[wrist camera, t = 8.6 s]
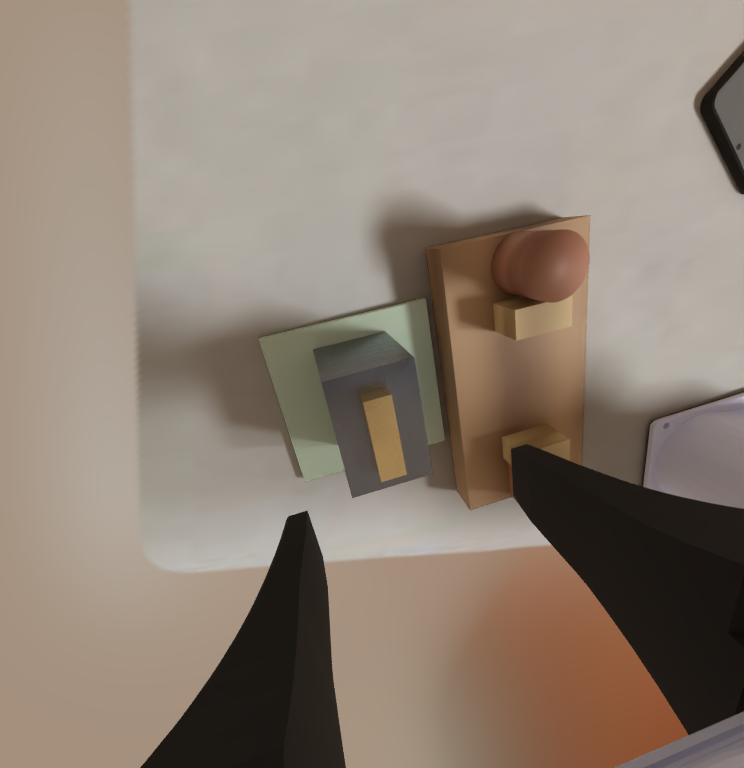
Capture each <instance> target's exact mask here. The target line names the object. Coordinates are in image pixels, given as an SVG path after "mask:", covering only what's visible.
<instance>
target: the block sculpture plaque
mask: <svg viewBox="0 0 744 768" xmlns="http://www.w3.org/2000/svg"><path fill="white" fill-rule="evenodd" d="M589 239H590V215H587V216H576V217H564V218H559V219H555V220H550V221H546V222H541V223H537V224H532V225H528V226H523V227H519V228H514V229H510V230H506V231H501V232H497V233H492V234H488V235H483V236H479V237H474V238H470V239H465V240H461V241H457V242H452V243H448V244H443V245H439V246H434V247H430V248H426V254H427V262H428V270H429V278H430V285H431V293H432V301H433V308H434V316H435V324H436V332H437V339H438V347H439V355H440V363H441V370H442V378H443V386H444V394H445V401H446V409H447V417H448V425H449V432H450V440H451V448H452V455H453V463H454V471H455V479H456V486H457V492H458V493H459V494H460V496H461V497H462V499H463V500H464V502H465V503H466V505H467V506H468V508H469V509H470V510H472V509H475V508H478V507H481V506H484V505H488V504H491V503H494V502H497V501H500V500H503V499H506V498H509V497H512V496H513V479H512V461H511V449H512V448H515V447H519V446H522V445H525V444H528V445H531V446H534V447H537V448H539V449H542V450H544V451H547V452H549V453H552V454H554V455H556V456H559V457H561V458H564V459H566V460H569V461H571V462H574V463H576V464H579V465H581V466H582V446H583V417H584V387H585V357H586V328H587V298H588V269H589ZM513 497H514V496H513ZM514 499H515V497H514ZM515 500H516V499H515ZM516 501H517V500H516Z"/></svg>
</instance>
